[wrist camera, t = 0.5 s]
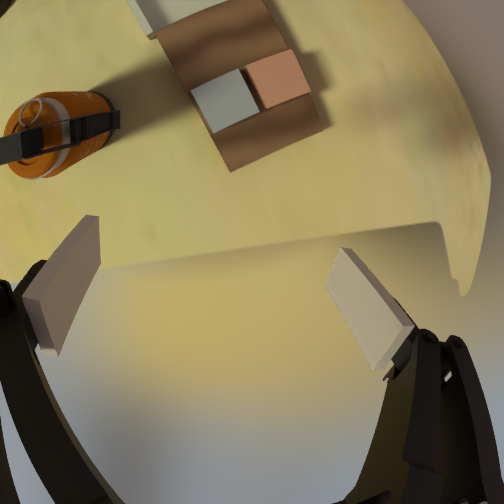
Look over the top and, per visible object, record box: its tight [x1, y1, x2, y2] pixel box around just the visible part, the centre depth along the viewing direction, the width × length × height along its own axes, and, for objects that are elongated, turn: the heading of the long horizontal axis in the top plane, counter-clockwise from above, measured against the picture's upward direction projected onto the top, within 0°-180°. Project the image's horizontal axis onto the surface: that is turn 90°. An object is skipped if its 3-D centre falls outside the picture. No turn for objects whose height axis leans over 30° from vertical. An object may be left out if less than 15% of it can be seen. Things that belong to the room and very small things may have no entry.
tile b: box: [191, 69, 260, 133], centre depth 29 cm, size 6×6×2 cm
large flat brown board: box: [154, 0, 323, 173], centre depth 30 cm, size 22×14×2 cm, turn 25°
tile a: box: [243, 49, 311, 108], centre depth 29 cm, size 6×6×2 cm
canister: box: [0, 92, 120, 180], centre depth 22 cm, size 9×11×20 cm
